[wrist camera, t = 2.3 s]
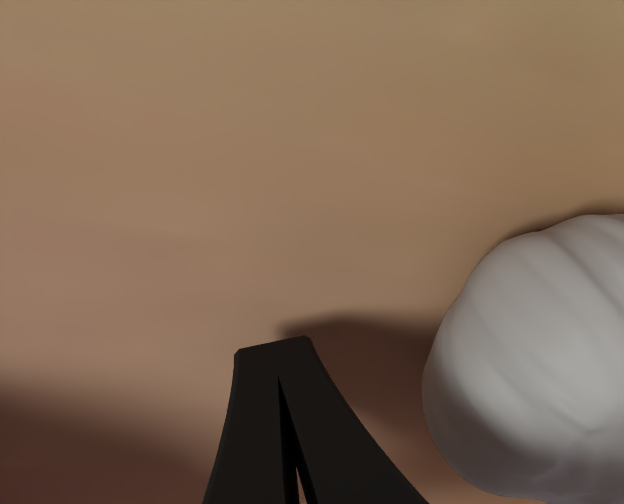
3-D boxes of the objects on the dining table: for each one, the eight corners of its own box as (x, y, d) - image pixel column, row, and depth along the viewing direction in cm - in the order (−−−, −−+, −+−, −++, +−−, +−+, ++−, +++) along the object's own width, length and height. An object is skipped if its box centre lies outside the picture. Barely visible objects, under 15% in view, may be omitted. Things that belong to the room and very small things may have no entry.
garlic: (469, 411, 14) (592, 641, 10) (340, 307, 11) (436, 571, 7) (683, 268, 13) (937, 469, 8) (598, 104, 10) (919, 286, 5)
